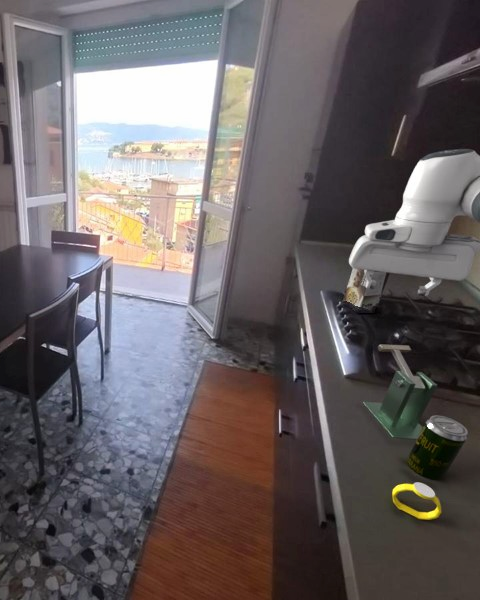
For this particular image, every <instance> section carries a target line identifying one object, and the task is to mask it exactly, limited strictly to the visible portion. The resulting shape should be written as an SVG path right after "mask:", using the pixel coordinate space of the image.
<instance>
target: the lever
mask: <svg viewBox="0 0 480 600" xmlns="http://www.w3.org/2000/svg"><path fill="white" fill-rule="evenodd" d="M376 348H377V349H378V352H386V353H391V354H392V356H393V358H394V360H395V362H396V363H397V366H398V367H399V370H400V371H402V372H403V373H404V374H405V375H406V376H407V377H408V378H410V379H411V380H412V381H413V382H414V383H415V384H416V385H415V387H414V389H413V391H412V393H420V392H421V391H423V390H424V389H426V388H425V386H424V384H423V383H422V381H421V379H420V377H419V376H415V375H413V372H412V371H411V369H410V367H409V366H408V364H407V362H406V360H405V358H404V356H403V355H402V353H405V354H407V353H409V352H411V351H412V349H411V347H410V345H406V344H405V345H403V344H381V343H380V344H378V346H376Z"/></svg>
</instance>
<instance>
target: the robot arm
mask: <svg viewBox="0 0 480 600" xmlns="http://www.w3.org/2000/svg"><path fill="white" fill-rule="evenodd" d="M458 216H464V217H468V218H470V219H471V220H474V221H476V222H478V223H479V224H480V155H479V153H477V152H476V151H475V150H474V149H471V148H458V149H446V150H440V151H436V152H432V153H429V154H427V155H425V156H423V157H422V158H420V159H419V161H418V162H417V164H416V165H415V167H414V168H413V171H412V172H411V175H410V177H409V178H408V181H407V184H406V186H405V189H404V191H403V194H402V205H401V207H400V208H399V210H398V211H397V212H396V214H395V217H394V219H391V220H385V221H380V222H374V223H373V222H372V223H369V224H366V225H365V228H364V235H362V236H360V237H359V238H358V239H357V240H356V242H355V244H354V246H353V248H352V250H351V253H350V255H349V258H348V264H349V266H350V267H351V269H353V268H354V269H363V270H365V271H364V272H365V275H366V277H367V283H366V288H370V289H374V288H375V285H376V281H375V280H371V277H370V275H373V273H374V271H380V272H388V273H390V274H396V275H405V276H413V277H414V276H415V277H423V278H429V280H430V281H429V282H428V283H427V284H425V285H419V286H418V290H417V291H416V294H417V296H423V297H428V296H429V295H430V291H431V290H433V289H435V288H436V287H438V286H439V285H441V283H442V281H443V280H448V281H456V282H457V281H458V282H462V281H463V280H465V279H467V278H468V277H469V275H470V273H471V270H472V267H473V263H474V259H475V257H476V256H478V254H479V252H480V240H479V239H478V238H476V237H475V236H473V235H459V234H450V233H448V232H449V230H450V228H451V225H452V223H453V220H454V218H456V217H458Z"/></svg>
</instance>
